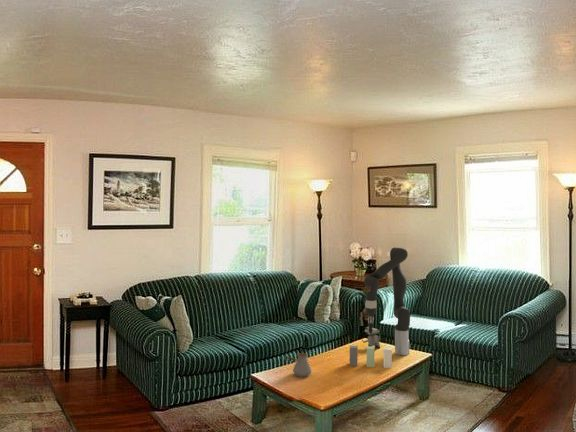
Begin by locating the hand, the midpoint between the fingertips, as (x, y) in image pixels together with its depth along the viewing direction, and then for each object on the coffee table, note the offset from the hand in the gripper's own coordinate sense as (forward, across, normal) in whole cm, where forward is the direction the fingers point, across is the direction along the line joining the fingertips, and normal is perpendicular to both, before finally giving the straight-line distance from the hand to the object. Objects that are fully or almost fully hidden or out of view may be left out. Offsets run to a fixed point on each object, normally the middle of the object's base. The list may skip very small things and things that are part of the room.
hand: (370, 332), depth 340 cm
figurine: (+20, -28, +1) cm, 35 cm away
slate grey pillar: (+20, +10, -11) cm, 25 cm away
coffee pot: (+20, +39, -44) cm, 62 cm away
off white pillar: (+20, +10, +11) cm, 25 cm away
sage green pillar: (+20, +10, 0) cm, 22 cm away
